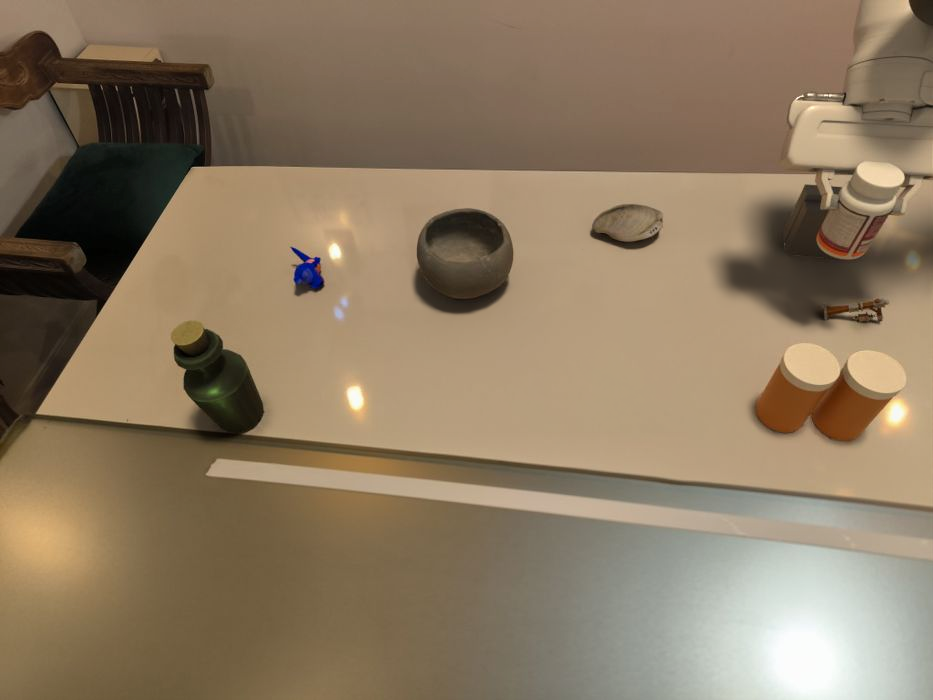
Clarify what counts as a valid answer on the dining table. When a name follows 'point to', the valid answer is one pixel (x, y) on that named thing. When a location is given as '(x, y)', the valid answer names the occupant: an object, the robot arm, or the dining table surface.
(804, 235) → the grey boxes
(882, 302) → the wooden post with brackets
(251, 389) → the potion bottle
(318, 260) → the figurine
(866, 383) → the matching pill bottles
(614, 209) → the seashell
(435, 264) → the bowl
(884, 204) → the pill bottle
